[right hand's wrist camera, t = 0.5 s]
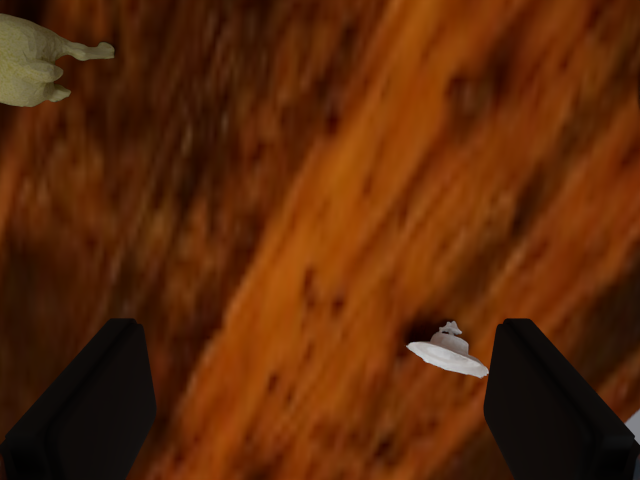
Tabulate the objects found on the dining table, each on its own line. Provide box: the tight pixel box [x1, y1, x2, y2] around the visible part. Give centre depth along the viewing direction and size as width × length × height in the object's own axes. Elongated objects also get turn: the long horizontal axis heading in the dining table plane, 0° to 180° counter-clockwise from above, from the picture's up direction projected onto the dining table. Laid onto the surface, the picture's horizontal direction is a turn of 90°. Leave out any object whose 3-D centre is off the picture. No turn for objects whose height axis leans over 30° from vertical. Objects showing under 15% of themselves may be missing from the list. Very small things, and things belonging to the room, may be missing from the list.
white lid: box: [407, 321, 489, 378], centre depth 44 cm, size 8×5×8 cm
